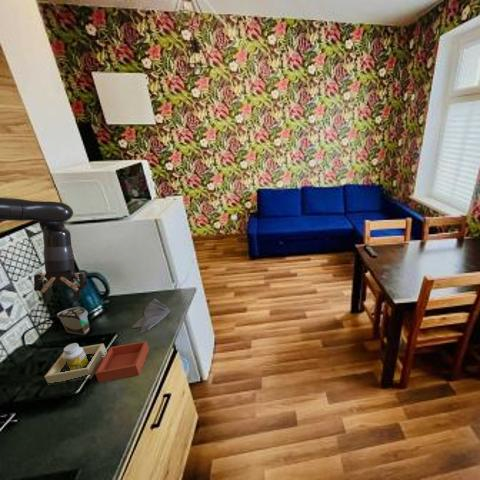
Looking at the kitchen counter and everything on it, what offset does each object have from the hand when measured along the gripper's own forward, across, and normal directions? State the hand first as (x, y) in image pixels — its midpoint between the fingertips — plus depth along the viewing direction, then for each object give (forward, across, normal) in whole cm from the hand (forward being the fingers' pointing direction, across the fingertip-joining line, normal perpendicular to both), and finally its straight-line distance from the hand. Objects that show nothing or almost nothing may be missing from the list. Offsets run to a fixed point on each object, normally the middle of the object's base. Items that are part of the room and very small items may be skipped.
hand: (63, 300), depth 98 cm
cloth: (+18, +24, +23) cm, 38 cm away
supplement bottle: (+25, +5, -3) cm, 26 cm away
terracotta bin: (+25, +21, -7) cm, 33 cm away
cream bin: (+26, +5, -3) cm, 27 cm away
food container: (+22, -4, +22) cm, 31 cm away
